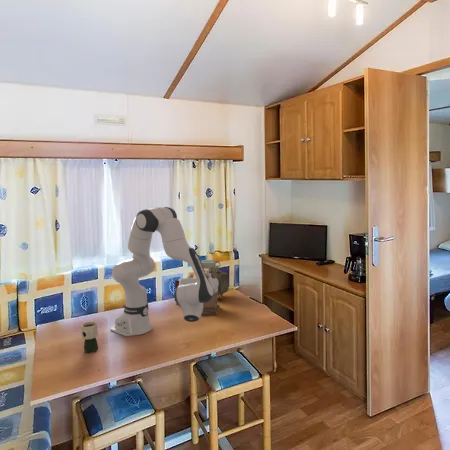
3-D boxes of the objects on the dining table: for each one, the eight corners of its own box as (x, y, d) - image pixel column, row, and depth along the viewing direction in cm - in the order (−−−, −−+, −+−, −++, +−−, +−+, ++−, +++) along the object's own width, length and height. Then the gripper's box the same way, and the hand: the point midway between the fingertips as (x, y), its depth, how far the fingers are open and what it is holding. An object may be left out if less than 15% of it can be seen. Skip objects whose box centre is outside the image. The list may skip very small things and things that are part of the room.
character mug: (81, 348, 182) (78, 322, 180) (96, 344, 186) (94, 319, 184) (85, 356, 173) (83, 329, 171) (101, 352, 176) (99, 326, 175)
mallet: (207, 280, 197) (207, 271, 196) (192, 280, 198) (192, 271, 197) (215, 268, 223) (215, 259, 223) (202, 268, 224) (202, 259, 224)
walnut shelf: (215, 317, 215) (213, 273, 211) (199, 317, 216) (197, 273, 213) (219, 306, 232) (218, 265, 229) (205, 306, 234) (203, 265, 230)
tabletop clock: (222, 294, 256) (220, 258, 253) (230, 297, 249) (229, 260, 245) (204, 299, 247) (203, 262, 244) (213, 303, 240) (211, 264, 237)
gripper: (216, 289, 185) (219, 269, 196) (176, 289, 188) (181, 269, 199) (217, 298, 189) (220, 278, 200) (178, 297, 192) (183, 278, 202)
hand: (200, 274), depth 199 cm, fingers open, 8 cm apart
